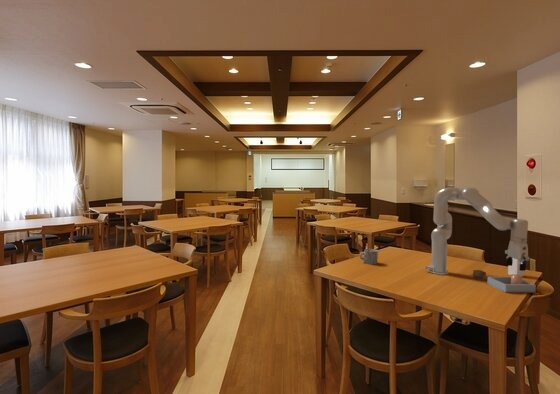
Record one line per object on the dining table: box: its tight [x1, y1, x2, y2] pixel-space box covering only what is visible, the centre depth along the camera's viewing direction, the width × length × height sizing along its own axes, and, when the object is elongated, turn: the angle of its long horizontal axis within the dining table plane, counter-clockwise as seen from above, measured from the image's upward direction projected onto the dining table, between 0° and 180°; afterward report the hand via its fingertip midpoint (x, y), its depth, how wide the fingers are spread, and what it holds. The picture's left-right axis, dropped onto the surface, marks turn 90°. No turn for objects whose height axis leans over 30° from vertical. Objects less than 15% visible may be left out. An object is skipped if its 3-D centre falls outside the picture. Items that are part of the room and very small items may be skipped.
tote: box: [486, 276, 537, 294], centre depth 180 cm, size 18×15×4 cm
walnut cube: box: [472, 269, 487, 281], centre depth 197 cm, size 5×5×5 cm
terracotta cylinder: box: [510, 274, 523, 284], centre depth 180 cm, size 5×5×7 cm
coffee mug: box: [359, 248, 379, 266], centre depth 233 cm, size 13×10×10 cm
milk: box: [507, 258, 524, 277], centre depth 205 cm, size 6×6×22 cm
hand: (515, 267), depth 180 cm, fingers open, 9 cm apart
